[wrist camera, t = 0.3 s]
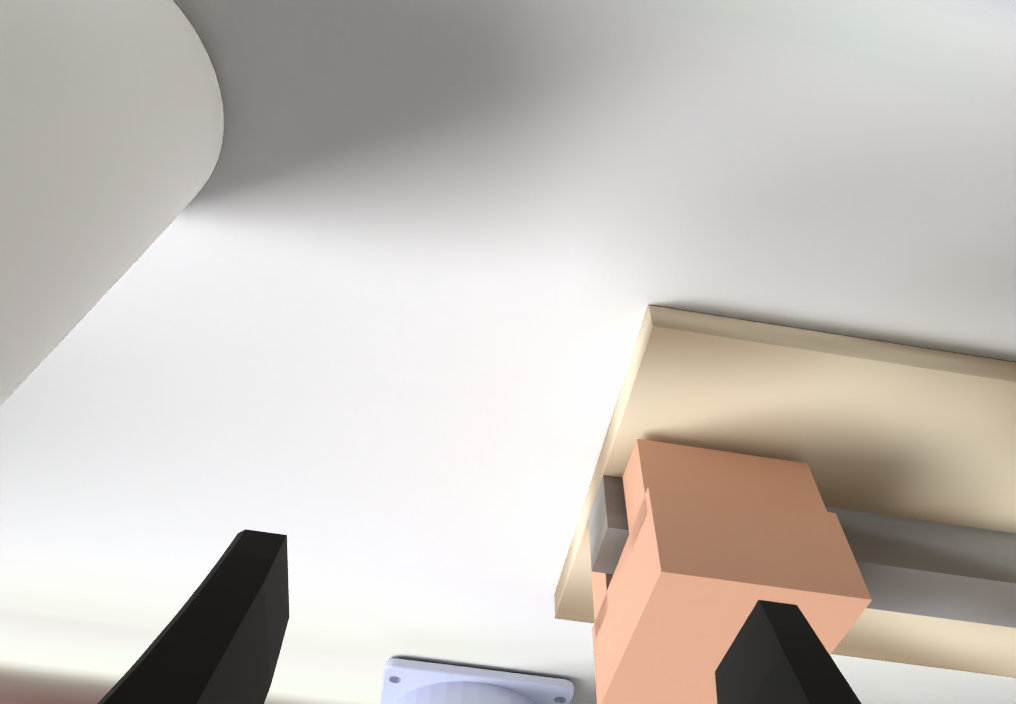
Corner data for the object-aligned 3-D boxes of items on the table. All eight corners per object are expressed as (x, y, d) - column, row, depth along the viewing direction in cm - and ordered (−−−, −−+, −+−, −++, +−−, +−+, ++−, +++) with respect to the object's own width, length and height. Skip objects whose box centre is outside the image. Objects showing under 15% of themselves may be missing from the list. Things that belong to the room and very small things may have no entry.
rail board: (1010, 654, 28) (1071, 762, 25) (554, 594, 27) (556, 699, 24) (1272, 402, 20) (1410, 512, 17) (648, 305, 19) (669, 402, 16)
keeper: (734, 590, 24) (769, 732, 20) (589, 571, 24) (597, 711, 20) (811, 455, 20) (872, 599, 17) (639, 431, 20) (661, 571, 16)
